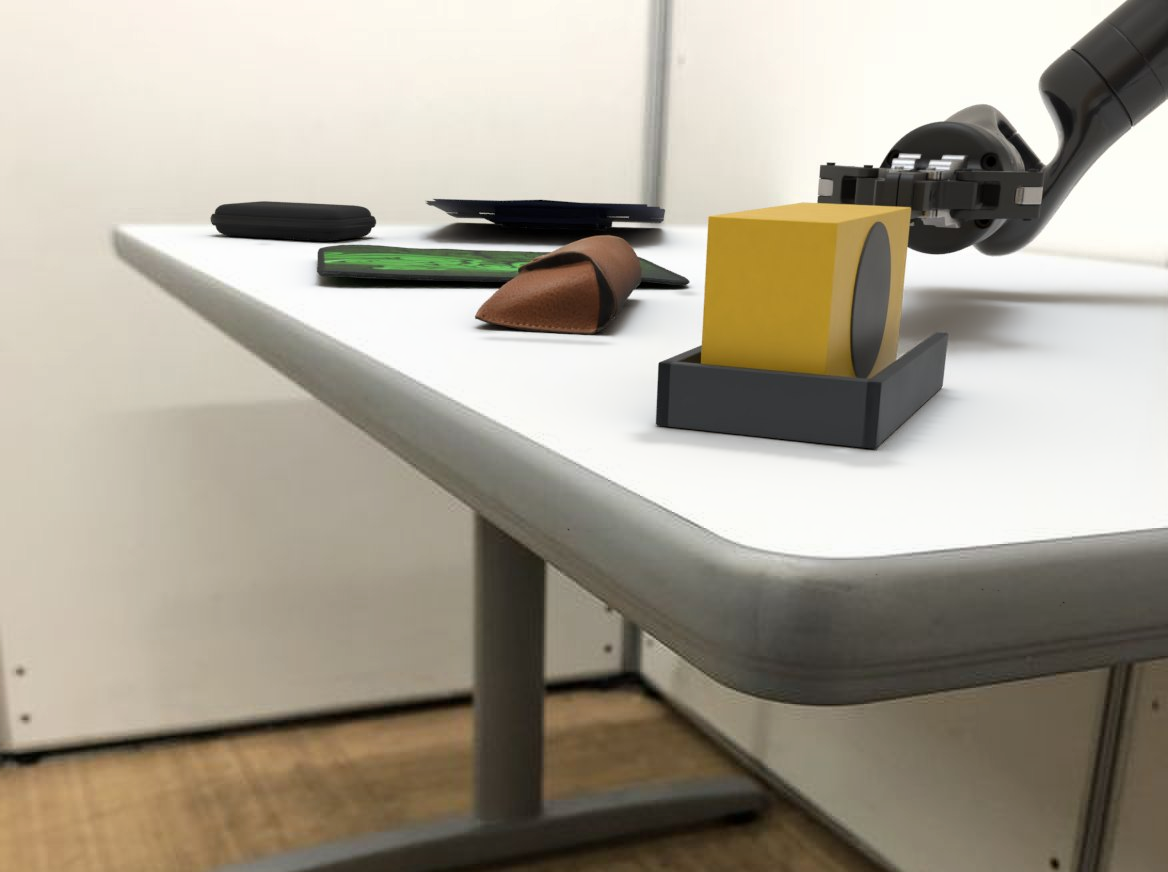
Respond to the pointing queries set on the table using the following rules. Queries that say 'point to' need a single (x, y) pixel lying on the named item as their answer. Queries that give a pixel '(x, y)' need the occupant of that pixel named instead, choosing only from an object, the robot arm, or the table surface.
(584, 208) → the black angular plate
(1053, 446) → the table surface
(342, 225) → the carrying case
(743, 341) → the tape measure
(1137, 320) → the table surface
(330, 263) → the mouse mat
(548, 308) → the sunglasses case
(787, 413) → the u-shaped bracket
